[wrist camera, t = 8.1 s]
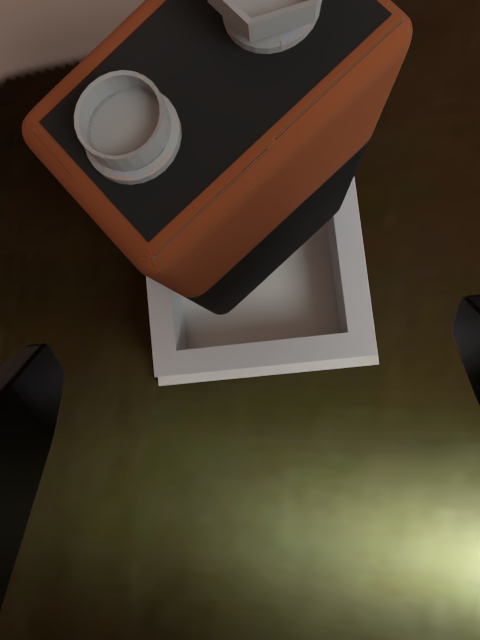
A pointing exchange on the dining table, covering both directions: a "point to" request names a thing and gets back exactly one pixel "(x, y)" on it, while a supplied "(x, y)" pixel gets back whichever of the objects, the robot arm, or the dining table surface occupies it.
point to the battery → (220, 131)
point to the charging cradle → (275, 315)
